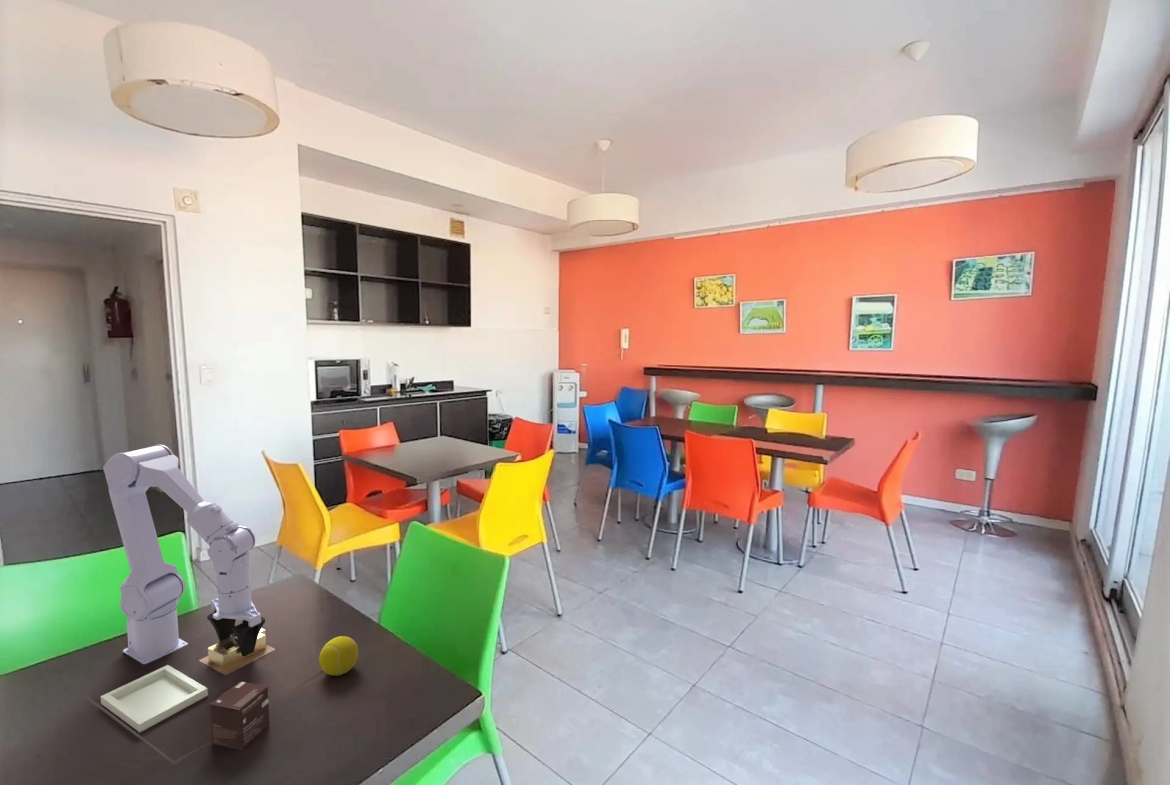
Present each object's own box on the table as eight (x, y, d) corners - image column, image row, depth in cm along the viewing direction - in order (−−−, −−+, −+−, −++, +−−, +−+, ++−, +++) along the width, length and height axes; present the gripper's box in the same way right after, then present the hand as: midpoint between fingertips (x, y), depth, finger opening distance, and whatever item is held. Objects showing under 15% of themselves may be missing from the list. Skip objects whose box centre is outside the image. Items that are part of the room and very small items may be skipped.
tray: (101, 705, 93) (100, 696, 93) (168, 673, 103) (167, 664, 102) (140, 734, 87) (139, 724, 87) (207, 697, 96) (207, 688, 96)
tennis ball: (339, 658, 109) (338, 626, 108) (366, 665, 106) (365, 633, 106) (312, 678, 102) (311, 645, 101) (339, 686, 100) (338, 652, 99)
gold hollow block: (208, 661, 106) (207, 647, 106) (256, 638, 115) (255, 625, 114) (223, 669, 103) (223, 655, 103) (271, 645, 112) (270, 632, 112)
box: (241, 751, 84) (239, 710, 83) (210, 745, 85) (208, 704, 84) (270, 724, 90) (269, 685, 89) (241, 719, 91) (239, 680, 90)
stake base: (198, 662, 106) (198, 660, 106) (248, 637, 115) (248, 636, 115) (225, 677, 102) (225, 675, 102) (275, 650, 111) (275, 649, 111)
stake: (230, 654, 108) (229, 634, 108) (237, 650, 110) (236, 631, 109) (240, 659, 107) (239, 639, 106) (247, 655, 108) (246, 636, 108)
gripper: (193, 586, 107) (197, 648, 108) (233, 604, 100) (237, 669, 101) (230, 573, 113) (233, 631, 114) (270, 589, 106) (272, 650, 108)
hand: (237, 648), depth 108 cm, fingers open, 7 cm apart
